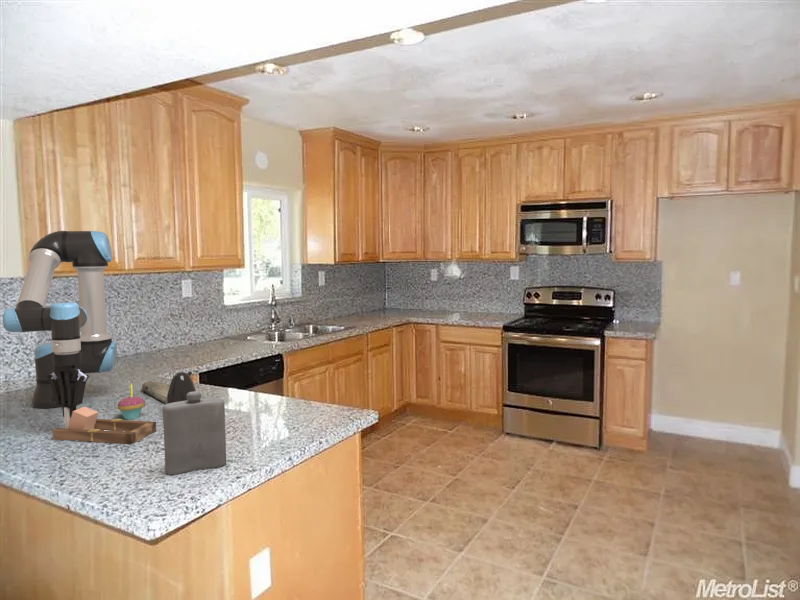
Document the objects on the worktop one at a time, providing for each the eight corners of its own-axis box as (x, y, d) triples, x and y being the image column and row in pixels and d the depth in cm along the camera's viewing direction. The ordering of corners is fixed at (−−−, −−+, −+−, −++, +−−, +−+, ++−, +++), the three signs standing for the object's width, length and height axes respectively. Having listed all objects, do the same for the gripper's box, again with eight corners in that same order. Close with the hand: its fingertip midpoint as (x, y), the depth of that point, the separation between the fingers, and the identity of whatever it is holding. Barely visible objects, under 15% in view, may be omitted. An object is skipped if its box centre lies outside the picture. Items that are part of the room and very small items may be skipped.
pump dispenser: (204, 411, 189) (203, 369, 187) (185, 420, 179) (183, 376, 177) (180, 409, 191) (178, 368, 190) (160, 418, 181) (158, 374, 180)
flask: (224, 458, 145) (222, 387, 143) (227, 466, 140) (225, 392, 138) (165, 468, 139) (162, 393, 137) (165, 476, 134) (162, 399, 132)
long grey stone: (165, 412, 194) (192, 408, 200) (166, 398, 193) (193, 394, 200) (136, 389, 219) (161, 386, 226) (136, 377, 219) (161, 374, 225)
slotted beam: (83, 427, 172) (82, 417, 172) (156, 430, 168) (155, 420, 168) (53, 439, 160) (52, 429, 160) (131, 444, 156) (131, 433, 156)
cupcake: (120, 415, 185) (118, 381, 184) (146, 412, 188) (145, 379, 187) (116, 422, 177) (114, 387, 176) (144, 419, 180) (142, 384, 179)
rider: (78, 426, 168) (84, 406, 167) (92, 432, 168) (98, 412, 167) (67, 431, 163) (72, 411, 162) (81, 437, 163) (87, 417, 162)
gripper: (38, 354, 161) (42, 430, 163) (76, 355, 159) (79, 432, 161) (58, 350, 168) (61, 422, 170) (94, 351, 166) (97, 424, 168)
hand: (70, 427), depth 165 cm, fingers closed
